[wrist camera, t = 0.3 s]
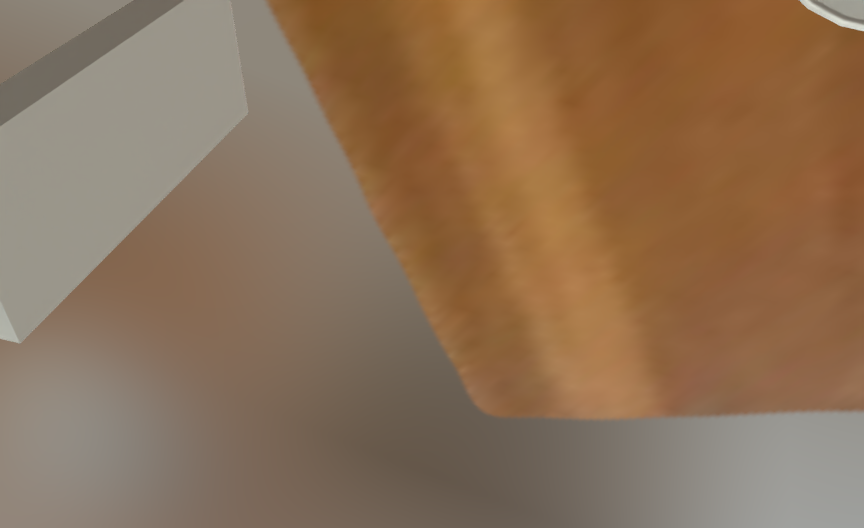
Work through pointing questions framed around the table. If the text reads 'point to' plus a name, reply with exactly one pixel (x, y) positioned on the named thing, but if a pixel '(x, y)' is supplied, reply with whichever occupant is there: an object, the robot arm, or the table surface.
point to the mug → (839, 11)
